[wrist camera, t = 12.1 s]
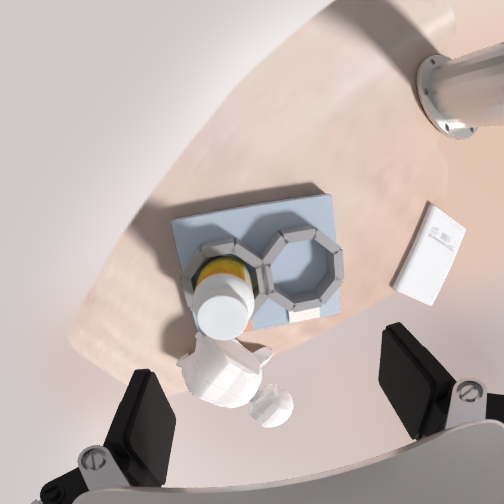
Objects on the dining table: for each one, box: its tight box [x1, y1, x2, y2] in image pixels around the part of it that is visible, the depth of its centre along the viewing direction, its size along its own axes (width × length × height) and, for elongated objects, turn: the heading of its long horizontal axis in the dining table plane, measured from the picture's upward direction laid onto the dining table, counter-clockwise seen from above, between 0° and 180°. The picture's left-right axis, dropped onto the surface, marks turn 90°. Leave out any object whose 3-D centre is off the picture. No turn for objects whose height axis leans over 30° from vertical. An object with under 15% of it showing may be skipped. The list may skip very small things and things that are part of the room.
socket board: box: [171, 193, 344, 335], centre depth 31 cm, size 17×14×4 cm
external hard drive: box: [392, 204, 466, 306], centre depth 35 cm, size 2×8×12 cm
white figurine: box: [176, 331, 294, 428], centre depth 34 cm, size 8×8×15 cm
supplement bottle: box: [193, 255, 255, 340], centre depth 27 cm, size 5×5×10 cm
